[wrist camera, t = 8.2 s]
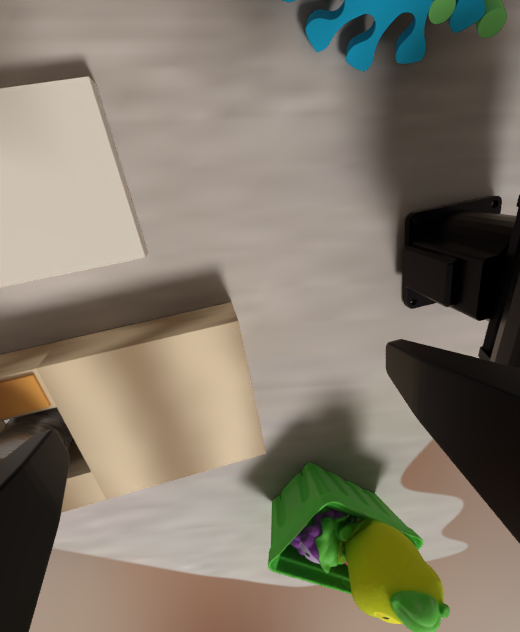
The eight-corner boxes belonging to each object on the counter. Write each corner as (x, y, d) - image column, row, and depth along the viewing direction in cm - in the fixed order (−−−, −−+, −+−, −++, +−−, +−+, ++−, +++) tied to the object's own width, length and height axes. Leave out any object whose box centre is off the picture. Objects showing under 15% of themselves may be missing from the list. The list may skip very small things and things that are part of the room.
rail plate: (231, 301, 21) (238, 322, 18) (257, 423, 25) (266, 455, 22) (-82, 373, 18) (-132, 409, 16) (4, 492, 23) (-23, 539, 20)
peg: (75, 374, 20) (24, 462, 14) (104, 436, 22) (72, 537, 16) (-15, 395, 20) (-110, 498, 13) (25, 457, 22) (-41, 571, 16)
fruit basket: (250, 506, 28) (286, 693, 18) (316, 434, 26) (397, 595, 16) (339, 539, 33) (409, 704, 22) (401, 479, 31) (507, 627, 21)
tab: (95, 83, 15) (88, 76, 14) (147, 252, 18) (145, 257, 17) (-146, 117, 14) (-175, 112, 13) (-44, 291, 17) (-59, 299, 16)
